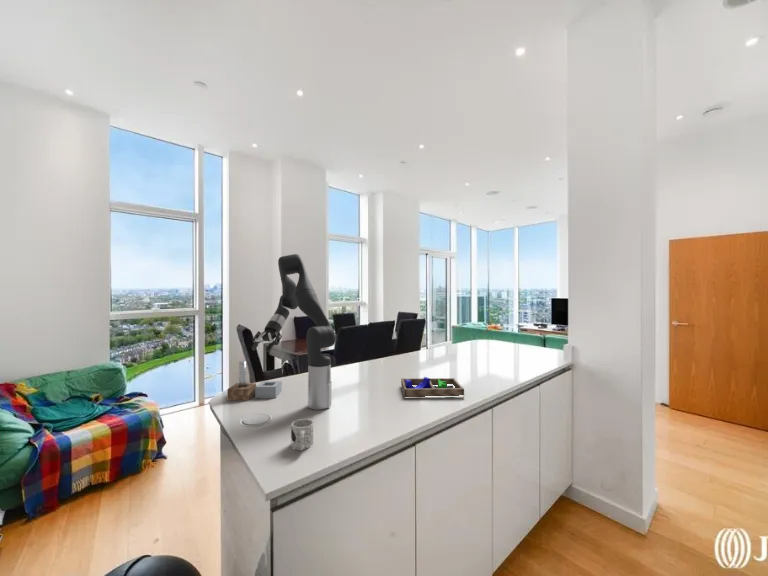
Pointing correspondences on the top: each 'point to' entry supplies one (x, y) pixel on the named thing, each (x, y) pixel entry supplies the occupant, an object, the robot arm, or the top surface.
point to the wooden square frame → (241, 392)
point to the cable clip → (423, 385)
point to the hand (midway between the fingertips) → (260, 350)
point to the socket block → (268, 389)
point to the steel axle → (242, 374)
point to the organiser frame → (432, 388)
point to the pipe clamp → (441, 384)
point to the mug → (301, 434)
